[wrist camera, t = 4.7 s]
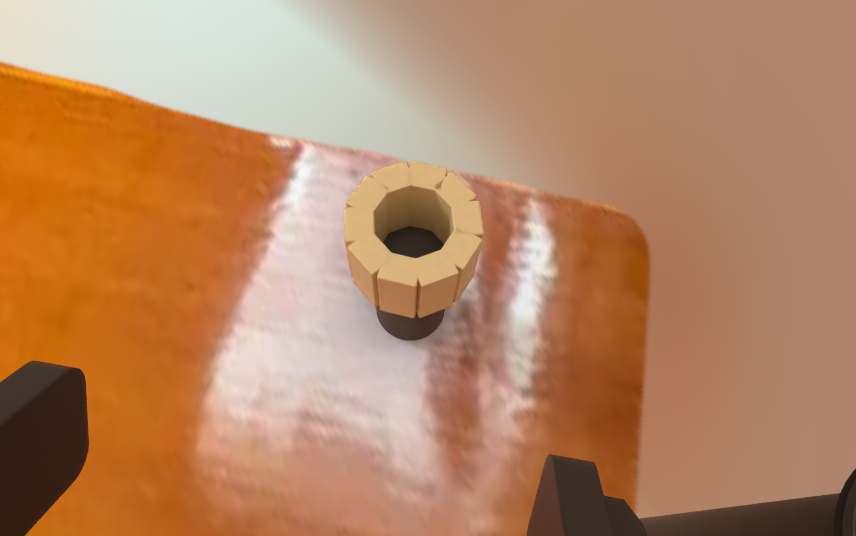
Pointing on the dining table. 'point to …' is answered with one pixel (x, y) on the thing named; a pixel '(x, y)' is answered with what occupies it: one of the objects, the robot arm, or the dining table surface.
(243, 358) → the dining table surface
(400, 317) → the cylinder
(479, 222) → the beige thick ring
